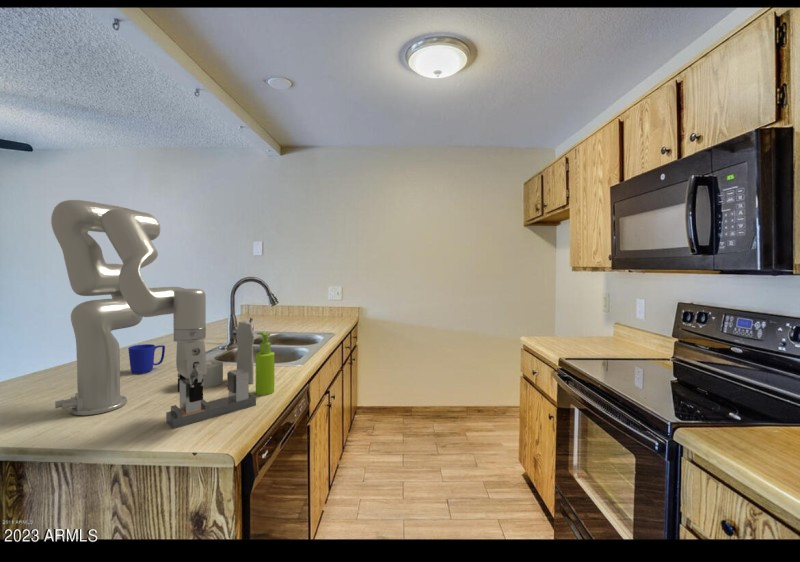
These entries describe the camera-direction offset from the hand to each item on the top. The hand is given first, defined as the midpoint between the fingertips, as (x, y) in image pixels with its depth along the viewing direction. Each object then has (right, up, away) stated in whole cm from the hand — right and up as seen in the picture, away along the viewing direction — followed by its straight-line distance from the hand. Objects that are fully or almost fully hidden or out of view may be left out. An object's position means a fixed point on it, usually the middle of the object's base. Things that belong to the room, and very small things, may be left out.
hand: (190, 395), depth 96 cm
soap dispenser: (+12, -6, +22) cm, 26 cm away
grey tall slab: (+1, -5, +32) cm, 33 cm away
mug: (-41, -4, +41) cm, 58 cm away
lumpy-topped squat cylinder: (-13, -5, +27) cm, 31 cm away
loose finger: (0, -4, 0) cm, 4 cm away
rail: (+4, -6, +5) cm, 9 cm away
